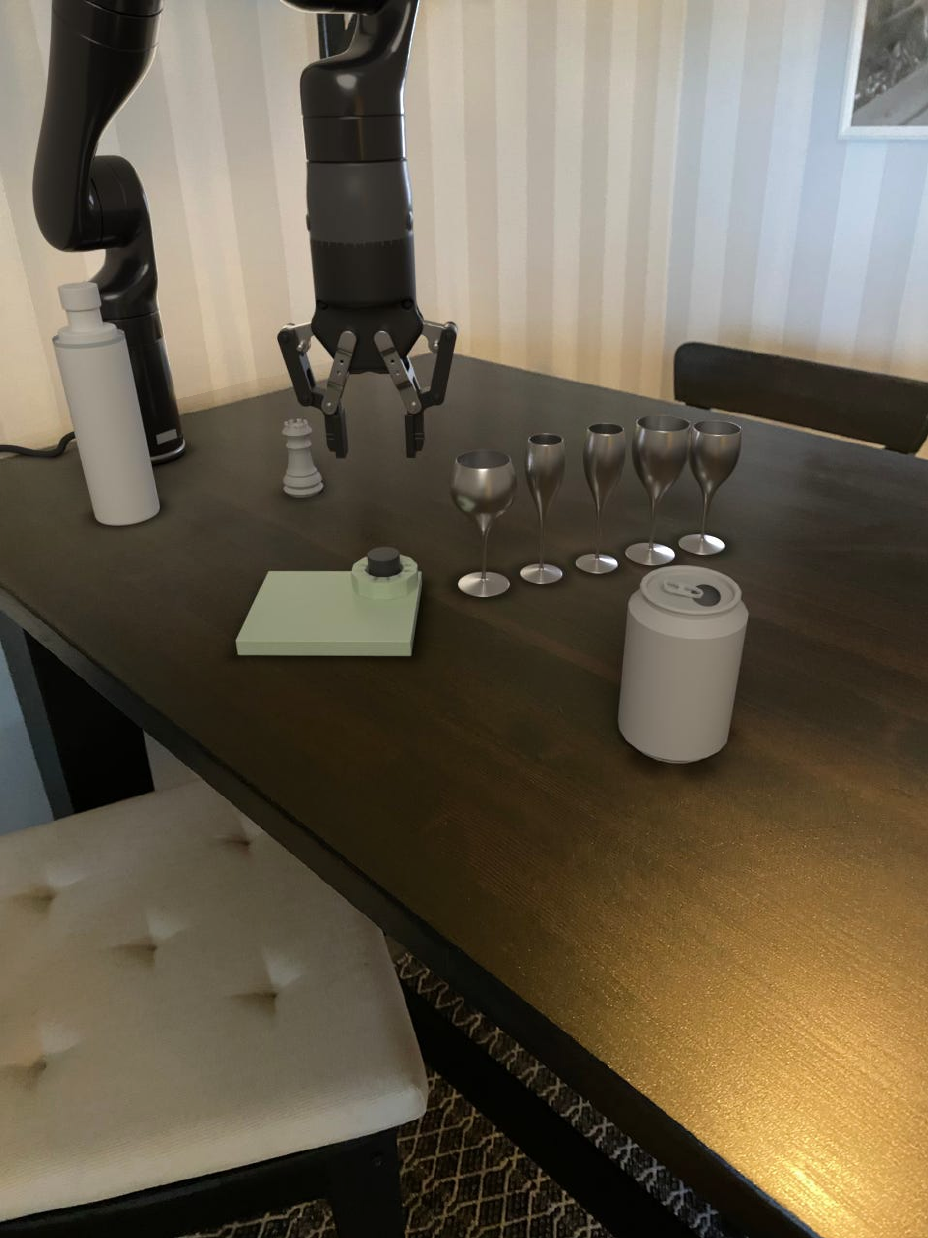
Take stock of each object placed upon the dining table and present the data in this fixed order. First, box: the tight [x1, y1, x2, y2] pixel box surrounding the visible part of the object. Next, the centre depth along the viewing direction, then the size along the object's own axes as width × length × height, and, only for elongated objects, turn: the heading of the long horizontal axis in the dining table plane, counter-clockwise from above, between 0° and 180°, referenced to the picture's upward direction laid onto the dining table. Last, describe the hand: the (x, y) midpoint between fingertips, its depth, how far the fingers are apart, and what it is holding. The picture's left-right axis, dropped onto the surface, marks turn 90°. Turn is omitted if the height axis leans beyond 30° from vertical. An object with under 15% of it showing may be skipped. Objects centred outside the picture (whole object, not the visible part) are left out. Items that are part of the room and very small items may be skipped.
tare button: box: [366, 546, 401, 577], centre depth 78 cm, size 3×3×2 cm
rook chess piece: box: [281, 418, 324, 499], centre depth 100 cm, size 4×4×8 cm
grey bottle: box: [51, 281, 161, 527], centre depth 91 cm, size 7×7×25 cm
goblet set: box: [449, 414, 742, 598], centre depth 82 cm, size 28×6×13 cm, turn 109°
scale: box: [235, 554, 423, 657], centre depth 77 cm, size 14×12×3 cm
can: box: [617, 564, 750, 764], centre depth 60 cm, size 8×8×12 cm
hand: (376, 454), depth 73 cm, fingers open, 5 cm apart
